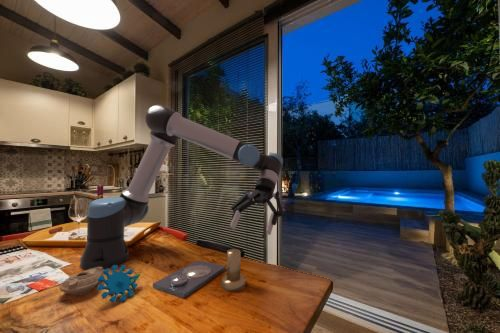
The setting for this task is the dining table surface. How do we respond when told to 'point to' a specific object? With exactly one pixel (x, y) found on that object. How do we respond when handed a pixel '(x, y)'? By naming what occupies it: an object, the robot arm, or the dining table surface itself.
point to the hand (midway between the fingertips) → (249, 230)
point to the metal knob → (233, 272)
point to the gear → (117, 283)
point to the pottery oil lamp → (82, 281)
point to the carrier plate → (189, 278)
